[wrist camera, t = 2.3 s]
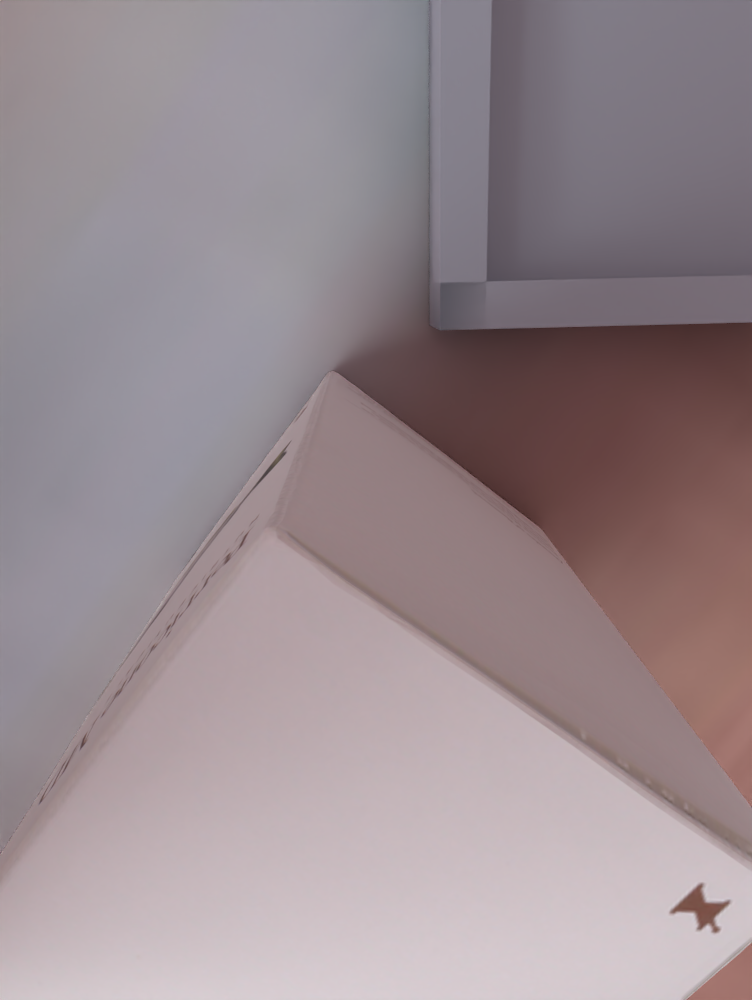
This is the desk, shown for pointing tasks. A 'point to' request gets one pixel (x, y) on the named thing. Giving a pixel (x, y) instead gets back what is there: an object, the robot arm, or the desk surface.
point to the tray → (589, 163)
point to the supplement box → (377, 765)
